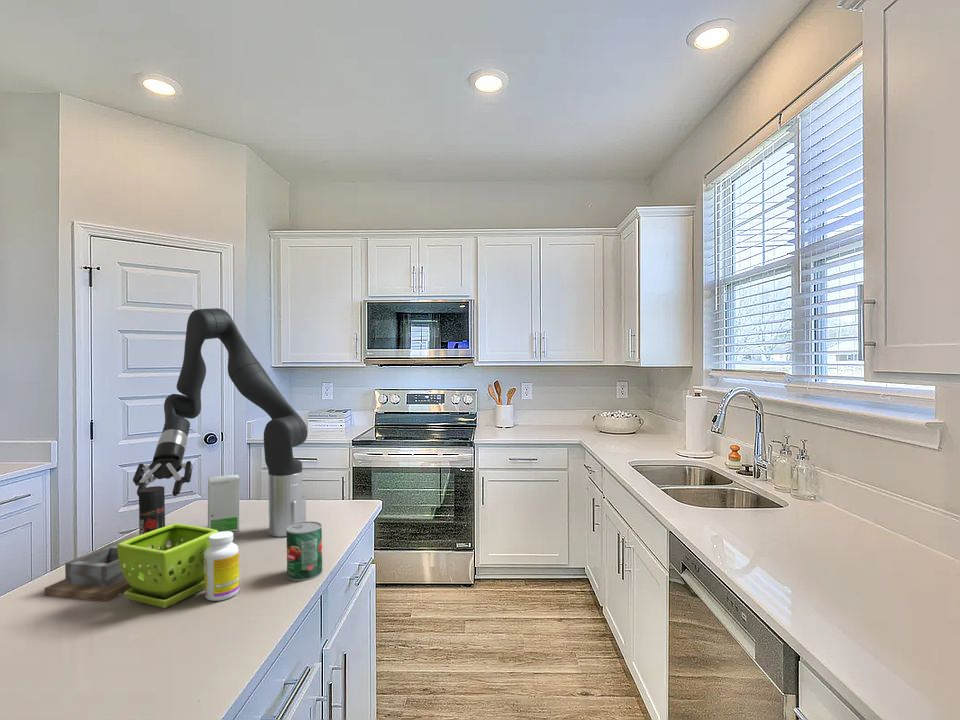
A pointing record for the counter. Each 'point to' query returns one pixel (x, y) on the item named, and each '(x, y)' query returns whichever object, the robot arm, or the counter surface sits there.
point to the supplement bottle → (221, 567)
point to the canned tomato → (304, 550)
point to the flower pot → (165, 564)
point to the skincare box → (223, 503)
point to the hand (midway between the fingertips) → (157, 495)
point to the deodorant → (151, 509)
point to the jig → (93, 577)
